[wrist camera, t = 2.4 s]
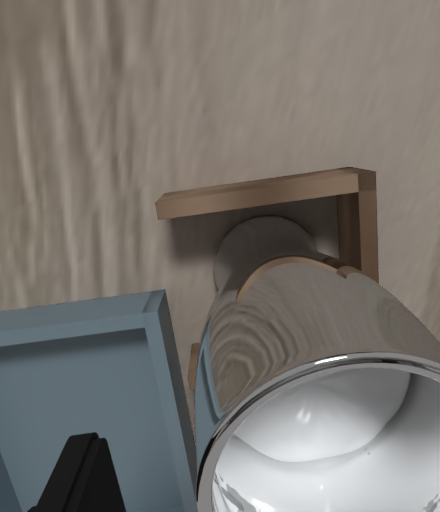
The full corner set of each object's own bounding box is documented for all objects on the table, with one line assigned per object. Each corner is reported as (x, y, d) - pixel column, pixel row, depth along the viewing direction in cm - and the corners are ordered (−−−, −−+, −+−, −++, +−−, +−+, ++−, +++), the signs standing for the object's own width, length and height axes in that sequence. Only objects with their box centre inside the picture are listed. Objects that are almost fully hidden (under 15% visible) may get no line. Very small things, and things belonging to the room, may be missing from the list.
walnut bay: (349, 166, 21) (375, 171, 17) (357, 334, 23) (380, 366, 20) (164, 193, 21) (155, 202, 18) (194, 355, 24) (190, 390, 20)
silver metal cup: (208, 324, 23) (193, 622, 9) (203, 209, 21) (174, 348, 7) (324, 321, 23) (500, 613, 9) (330, 205, 21) (569, 337, 7)
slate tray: (165, 289, 23) (157, 311, 20) (206, 502, 27) (204, 545, 24) (-52, 318, 23) (-90, 343, 20) (24, 523, 27) (1, 568, 25)
